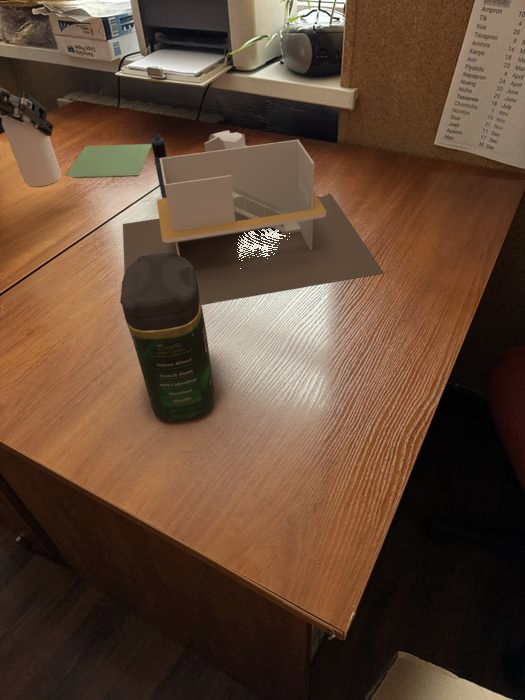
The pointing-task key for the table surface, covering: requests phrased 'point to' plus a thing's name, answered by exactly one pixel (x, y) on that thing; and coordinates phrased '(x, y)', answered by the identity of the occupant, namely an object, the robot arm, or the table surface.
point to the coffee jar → (169, 335)
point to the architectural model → (250, 223)
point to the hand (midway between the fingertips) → (32, 128)
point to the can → (32, 153)
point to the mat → (110, 161)
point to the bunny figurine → (225, 141)
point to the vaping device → (159, 153)
